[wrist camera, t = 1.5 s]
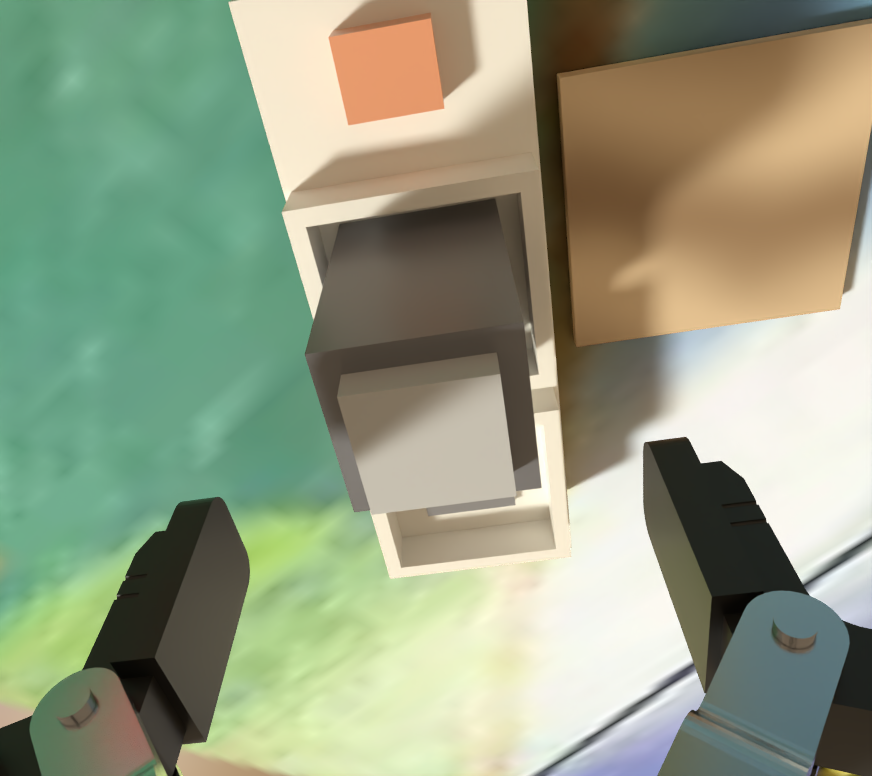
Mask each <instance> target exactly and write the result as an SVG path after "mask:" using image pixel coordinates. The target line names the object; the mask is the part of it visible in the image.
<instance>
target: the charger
mask: <svg viewBox="0 0 872 776" xmlns="http://www.w3.org/2000/svg"><path fill="white" fill-rule="evenodd" d="M305 357H306V360H307V363H308V366H309V369H310V373H311V376H312V379H313V382H314V385H315V389H316V392H317V395H318V398H319V401H320V405H321V408H322V411H323V414H324V417H325V420H326V424H327V427H328V430H329V433H330V436H331V440H332V443H333V446H334V449H335V452H336V456H337V459H338V462H339V465H340V468H341V471H342V475H343V478H344V481H345V484H346V487H347V491H348V494H349V497H350V500H351V503H352V507H353V510H354V512H360V511H367V510H370V511H371V514H372V515H374V514H382V513H390V512H398V511H406V510H413V509H421V508H429V507H437V506H445V505H452V504H460V503H468V502H476V501H484V500H491V499H499V498H507V497H515V496H517V494H516V491H523V490H530V489H538V488H542V486H541V476H540V467H539V458H538V449H537V439H536V430H535V421H534V412H533V402H532V393H531V384H530V374H529V365H528V356H527V347H526V337H525V328H524V321H523V316H522V312H521V308H520V303H519V299H518V295H517V290H516V286H515V282H514V277H513V273H512V269H511V264H510V260H509V256H508V251H507V247H506V243H505V239H504V234H503V230H502V226H501V221H500V217H499V213H498V208H497V204H496V200H495V199H489V200H483V201H477V202H471V203H464V204H458V205H452V206H446V207H440V208H434V209H428V210H421V211H415V212H409V213H403V214H397V215H391V216H385V217H378V218H372V219H366V220H360V221H354V222H348V223H342V224H339V228H338V232H337V236H336V239H335V243H334V247H333V250H332V254H331V258H330V262H329V265H328V269H327V273H326V277H325V280H324V284H323V288H322V292H321V295H320V299H319V303H318V307H317V310H316V314H315V318H314V322H313V325H312V329H311V333H310V337H309V340H308V344H307V348H306V352H305Z"/></svg>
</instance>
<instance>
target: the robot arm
mask: <svg viewBox="0 0 872 776" xmlns="http://www.w3.org/2000/svg"><path fill="white" fill-rule="evenodd" d="M643 503H644V514H645V521H646V526H647V530H648V534H649V537H650V540H651V543H652V546H653V549H654V551H655V554H656V557H657V560H658V563H659V566H660V568H661V571H662V574H663V577H664V580H665V583H666V585H667V588H668V591H669V594H670V597H671V600H672V602H673V605H674V608H675V611H676V614H677V617H678V619H679V622H680V625H681V628H682V631H683V634H684V636H685V639H686V642H687V645H688V648H689V651H690V653H691V656H692V659H693V662H694V665H695V668H696V670H697V673H698V676H699V679H700V682H701V685H702V687H703V690H704V693H706V695H705V697H704V699H703V701H702V703H701V705H700V707H699V709H698V710H697V711H694V710H691V711H690V712H689V713H688V714H687V716H686V717H685V719H684V721H683V723H682V725H681V727H680V729H679V731H678V733H677V735H676V737H675V739H674V741H673V744H672V746H671V748H670V750H669V752H668V754H667V756H666V758H665V761H664V763H663V765H662V767H661V769H660V771H659V773H658V775H657V776H816V775H817V772H818V769H819V766H821V767H825V768H830V769H834V770H839V771H843V772H848V773H852V774H857V775H861V776H872V629H868V628H863V627H859V626H856V625H853V624H850V623H848V622H845V621H843V620H841V618H840V617H839V616H838V615H837V614H836V613H835V612H834V611H833V610H832V609H831V608H830V607H828V606H827V605H826V604H824V603H823V602H821V601H819V600H817V599H815V598H813V597H811V596H810V595H809V594H808V592H807V591H806V589H805V588H804V586H803V584H802V582H801V581H800V579H799V577H798V575H797V573H796V572H795V570H794V568H793V566H792V564H791V563H790V561H789V559H788V557H787V555H786V554H785V552H784V550H783V548H782V546H781V545H780V543H779V541H778V539H777V537H776V536H775V534H774V532H773V530H772V528H771V527H770V525H769V523H767V522H766V518H765V516H764V514H763V512H762V510H761V509H760V507H759V505H757V504H756V500H755V498H754V496H753V494H752V492H751V491H750V489H749V487H748V485H747V484H746V482H745V480H744V478H742V477H741V476H740V475H739V474H737V473H736V472H735V471H733V470H732V469H731V468H730V467H728V466H727V465H726V464H724V463H723V462H722V461H717V462H709V463H700V461H699V459H698V457H697V455H696V453H695V451H694V449H693V447H692V445H691V443H690V441H689V439H688V438H687V437H681V438H673V439H666V440H658V441H651V442H645V443H644V447H643ZM125 577H126V580H125V581H123V582H122V585H121V587H120V589H119V591H118V593H117V600H114V602H113V604H112V606H111V609H110V611H109V613H108V615H107V617H106V620H105V622H104V624H103V626H102V628H101V630H100V633H99V635H98V637H97V639H96V641H95V644H94V646H93V648H92V650H91V652H90V654H89V657H88V659H87V661H86V663H85V665H84V668H83V669H82V671H79V672H77V673H74V674H72V675H70V676H68V677H67V678H65V679H64V680H62V681H61V682H59V683H58V684H57V685H55V686H54V687H53V688H52V689H51V690H50V691H49V692H48V693H47V694H46V695H45V696H44V697H43V699H42V700H41V701H40V703H39V704H38V706H37V707H36V709H35V711H34V713H33V715H32V716H30V717H28V718H25V719H23V720H20V721H18V722H15V723H13V724H10V725H8V726H5V727H2V728H0V776H183V774H182V772H181V770H180V769H179V767H178V766H177V764H176V763H177V760H178V756H179V753H180V750H181V746H182V744H191V743H201V742H206V740H207V737H208V733H209V729H210V726H211V722H212V718H213V714H214V711H215V707H216V703H217V700H218V696H219V692H220V688H221V685H222V681H223V677H224V674H225V670H226V666H227V662H228V659H229V655H230V651H231V648H232V644H233V640H234V636H235V633H236V629H237V625H238V621H239V618H240V614H241V610H242V607H243V603H244V599H245V595H246V592H247V588H248V584H249V577H250V567H249V559H248V555H247V552H246V549H245V547H244V544H243V542H242V540H241V538H240V535H239V533H238V531H237V529H236V526H235V524H234V522H233V519H232V517H231V515H230V513H229V510H228V508H227V506H226V504H225V502H224V501H223V499H222V498H220V497H214V498H206V499H199V500H191V501H184V502H180V503H179V504H178V505H177V506H176V508H175V510H174V513H173V515H172V517H171V520H170V522H169V524H168V527H167V529H166V531H159V532H155V533H154V534H153V535H152V536H151V537H150V538H149V539H148V541H147V542H146V543H145V544H144V545H143V546H142V547H141V548H140V549H139V550H138V552H137V553H136V554H135V556H134V558H133V561H132V563H131V565H130V567H129V569H128V571H127V574H126V576H125Z"/></svg>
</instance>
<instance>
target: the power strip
mask: <svg viewBox="0 0 872 776" xmlns="http://www.w3.org/2000/svg"><path fill="white" fill-rule="evenodd" d="M228 3H229V6H230V10H231V13H232V17H233V20H234V23H235V27H236V30H237V34H238V37H239V41H240V44H241V48H242V51H243V54H244V58H245V61H246V65H247V68H248V72H249V75H250V79H251V82H252V86H253V89H254V92H255V96H256V99H257V103H258V106H259V110H260V113H261V117H262V120H263V123H264V127H265V130H266V134H267V137H268V141H269V144H270V148H271V151H272V155H273V158H274V161H275V165H276V168H277V172H278V175H279V179H280V182H281V186H282V189H283V192H284V196H285V199H286V204H285V206H284V208H283V210H282V215H283V218H284V221H285V225H286V228H287V231H288V235H289V238H290V242H291V245H292V248H293V252H294V255H295V258H296V262H297V265H298V269H299V272H300V275H301V279H302V282H303V285H304V289H305V292H306V296H307V299H308V302H309V306H310V309H311V313H312V316H313V319H314V318H315V314H316V310H317V307H318V303H319V299H320V295H321V292H322V288H323V284H324V280H325V277H326V273H327V269H328V265H329V262H330V258H331V254H332V250H333V247H334V243H335V239H336V236H337V232H338V228H339V224H342V223H348V222H354V221H360V220H366V219H372V218H378V217H385V216H391V215H397V214H403V213H409V212H415V211H421V210H428V209H434V208H440V207H446V206H452V205H458V204H464V203H471V202H477V201H483V200H489V199H495V200H496V204H497V208H498V213H499V217H500V221H501V226H502V230H503V234H504V239H505V243H506V247H507V251H508V256H509V260H510V264H511V269H512V273H513V277H514V282H515V286H516V290H517V295H518V299H519V303H520V308H521V312H522V316H523V321H524V328H525V337H526V347H527V356H528V365H529V374H530V384H531V393H532V402H533V412H534V421H535V430H536V439H537V449H538V458H539V467H540V476H541V486H542V488H538V489H530V490H523V491H516V494H517V496H515V497H507V498H499V499H491V500H484V501H476V502H468V503H460V504H452V505H445V506H437V507H429V508H421V509H413V510H406V511H398V512H390V513H382V514H374V515H372V514H371V515H372V519H373V522H374V525H375V529H376V532H377V536H378V539H379V542H380V546H381V549H382V552H383V556H384V559H385V563H386V566H387V569H388V573H389V576H390V579H392V578H400V577H409V576H417V575H425V574H433V573H442V572H450V571H458V570H467V569H475V568H483V567H491V566H500V565H508V564H516V563H525V562H533V561H541V560H550V559H558V558H566V557H571V550H570V548H571V536H570V523H569V511H568V499H567V487H566V474H565V462H564V450H563V438H562V426H561V413H560V401H559V389H558V377H557V364H556V352H555V340H554V328H553V316H552V303H551V291H550V279H549V267H548V254H547V242H546V230H545V218H544V206H543V193H542V181H541V169H540V157H539V144H538V132H537V120H536V108H535V96H534V83H533V71H532V59H531V47H530V34H529V22H528V10H527V0H232V1H230V2H228ZM370 512H371V511H370Z"/></svg>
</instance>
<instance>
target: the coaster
mask: <svg viewBox="0 0 872 776" xmlns="http://www.w3.org/2000/svg"><path fill="white" fill-rule="evenodd" d="M557 88H558V103H559V119H560V135H561V150H562V166H563V181H564V197H565V212H566V228H567V243H568V259H569V274H570V290H571V306H572V321H573V337H574V341H575V344H576V347H581V346H588V345H595V344H602V343H609V342H616V341H622V340H629V339H636V338H643V337H650V336H657V335H664V334H671V333H678V332H685V331H692V330H699V329H706V328H713V327H719V326H726V325H733V324H740V323H747V322H754V321H761V320H768V319H775V318H782V317H789V316H796V315H803V314H810V313H816V312H823V311H830V310H837V309H840V305H841V299H842V294H843V288H844V282H845V276H846V271H847V265H848V259H849V253H850V248H851V242H852V236H853V230H854V224H855V219H856V213H857V207H858V201H859V196H860V190H861V184H862V178H863V173H864V167H865V161H866V155H867V150H868V144H869V138H870V132H871V126H872V18H871V19H865V20H860V21H854V22H848V23H843V24H837V25H831V26H826V27H820V28H814V29H809V30H803V31H797V32H791V33H786V34H780V35H774V36H769V37H763V38H757V39H752V40H746V41H740V42H735V43H729V44H723V45H718V46H712V47H706V48H700V49H695V50H689V51H683V52H678V53H672V54H666V55H661V56H655V57H649V58H644V59H638V60H632V61H627V62H621V63H615V64H609V65H604V66H598V67H592V68H587V69H581V70H575V71H570V72H564V73H558V74H557Z"/></svg>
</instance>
